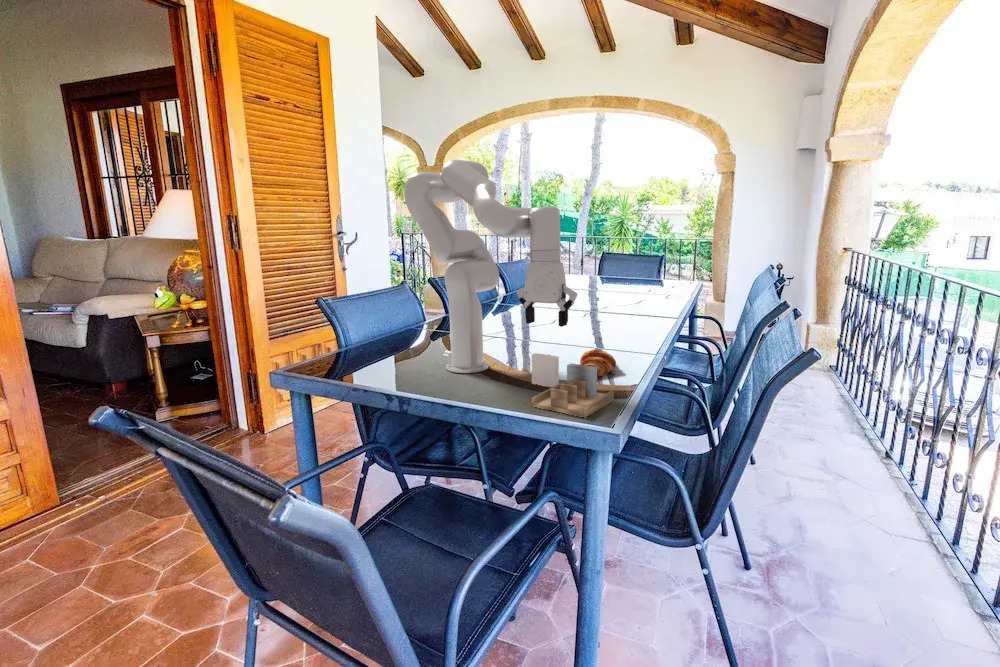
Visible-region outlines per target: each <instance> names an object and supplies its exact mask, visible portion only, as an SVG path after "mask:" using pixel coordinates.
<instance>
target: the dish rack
mask: <svg viewBox="0 0 1000 667" xmlns="http://www.w3.org/2000/svg"><path fill="white" fill-rule="evenodd" d="M597 382H598V377H597V367H592V366H585V365H580V363H579V364H578V363H577V364H576V363H571V362H570V363H568V364H566V382H565V381H562V382H559V384H558V385H556V386H554V387H549V388H548V389H545V391H541V392H540V393H538V394H536V395H534V396H532V397H530V407H531V406H532V407H531V408H534V407H537V408H536V409H539V408H541V409H540V410H543V409H546V410H545V411H548V410H552V411H551V412H553V411H557V412H563V413H567V414H572V415H576V416H582V417H587V416H588V415H590V414H591V413H593V412H595V411H596V412H597V411H599V410H600V409H601V408H604V407H605V406H606V405H608V404H609V403H611V402H613V401H614V398H615V397H614V395H615V391H614V390H610V391H608V392H607V393H601V392H597V391H598V383H597ZM598 409H599V410H598ZM557 412H556V413H557ZM596 412H595V413H596ZM593 414H594V413H593ZM576 416H575V417H576ZM590 416H591V415H590ZM587 418H588V417H587Z"/></svg>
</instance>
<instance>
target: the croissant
mask: <svg viewBox="0 0 1000 667" xmlns="http://www.w3.org/2000/svg"><path fill="white" fill-rule="evenodd" d="M579 365H585V366H592V367H597V376H598V377H602V376H605V375H608V374H609V373H610V372H611V371H613V370H614V369H615V368H616V366H617V361H616V359H615V357H614V356H613V355H612V354H610V353H609V352H607V351H606V350H601V349H598V348H597V349H593V348H592V349H590V350H588V351H585V352H584V353H583V354H582V355H581V357H580V360H579ZM604 374H605V375H604Z"/></svg>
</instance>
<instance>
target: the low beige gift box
mask: <svg viewBox="0 0 1000 667" xmlns="http://www.w3.org/2000/svg"><path fill="white" fill-rule="evenodd" d="M559 359H560V356H558V355H551V354H545V353H537V352H535V353H532V354H531V384H532V385H536V384H537V386H542V387H548V388H552V387H554V386H556V385H558V384H560V381H559V380H560V379H559V376H560V370H559V369H560V368H559V365H560V360H559Z"/></svg>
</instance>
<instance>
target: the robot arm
mask: <svg viewBox="0 0 1000 667" xmlns="http://www.w3.org/2000/svg"><path fill="white" fill-rule="evenodd" d="M403 191H404V201H405V204H406V207H407V210H408V212H409V213H410V215H411V217H412V218H413V219H414V221H415V222H416V223H417V225H418V226H419V228H420V230H421V231H422V234H423V236H424V237H425V239H426V241H427V243H428V244H429V247H430V248H431V250H432V252H433V253H434V255H435V257H436V258H437V259H438V261H440V262H441V263H444V264H450V265H448V267H447V268H446V269H445V273H444V276H443V277H444V278H443V279H444V285H445V289H446V294H447V298H448V308H449V309H448V312H449V314H448V315H449V332H450V333H449V337H450V338H449V340H450V350H446V351H445V352H444V353H443V354H442V359H446V360H448V362H447V363H446V366H445V367H446V370H447V371H448V372H452V373H456V374H458V373H459V374H472V373H475V374H476V373H479V372H483V371H486V370H488V369H489V366H490V364H489V362H488V361H486V360H484V340H483V339H484V335H483V334H484V332H483V331H484V330H483V308H482V304H481V301H480V299H479V297H478V294H477V293H482V292H488V291H491V290H493V289H494V288H496V287H497V286H498V284H499V281H500V271H499V268H498V265H497V264H496V262H495V260H494V259H493V256H492V254H491V253H490V251H489V250H488V248H487V246H486V244H485V243H484V241H483V239H482V238H481V237H480V235H479V234H477V233H476V232H474V231H472V230H468V229H456V228H455V227H454V226H453V225H452V223H451V222H450V220H449V218H448V216H447V214H446V213H445V212H444V211H443V210H442V209H441V208H440V207H438V205H436V204H435V203H446V204H447V203H448V204H449V203H455V202H457V201H461V200H463V201H464V202H466V203H467V204H468V205H469V206H471V207H472V210H473V213H474V216H475V217H476V219H477V221H478V222H479V223H480V224H481V225H482V226H484V228H486V229H487V230H488V231H490V232H491V233H493V234H494V235H495V236H498V237H501V238H504V239H508V238H509V239H510V238H529V241H530V242H529V245H530V246H529V249H530V250H529V252H527V253H526V258H528V259H529V261H530V262H528V263H527V265H526V270H525V275H524V277H525V278H524V286H522V287H521V288H519V289H517V290H516V291H515V292H516V295H517V297H518V299H519V302H520V303H521V305H522V307H523V308H524V309H525V310H524V311H525V317H524V318H525V323H526V324H527V325H528V324H532V323H535V321H536V320H535V318H536V316H535V307H534V304H536V303H539V304H556V305H557V307H558V308H559V309H560V310H558V327H560V328H562V327H565V326H567V325H568V322H569V310H570V309H571V307H572V306H573V305H574V304H575V301H576V299H577V297H578V293H577V292H576V291H574V290H573V289H571V288H569V287H568V286H567V282H566V281H567V280H566V272H565V266H564V263H563V262H561V212H560V209H559V207H557V206H549V205H548V206H535V207H533V208H532V207H520V206H518V207H517V206H506V205H503V204H502V203H501V202H499V201H498V200H497V199H495V197H496V195H497V187H496V184H495V183H494V181H492V180H490V179H489V172H488V170H487V169H486V167H485V165H483V164H482V163H480V162H477V161H472V160H471V161H470V160H463V159H451V160H449V161H447V162H445V164H443V166H442V167H441V169H440V172H435V171H434V172H431V171H421V172H420V171H419V172H415V173H413V174H411V175H410V176H409V177H408V178H407V180H406V182H405V184H404V190H403ZM567 295H568V296H569V297H568V300H566V299H567Z"/></svg>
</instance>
